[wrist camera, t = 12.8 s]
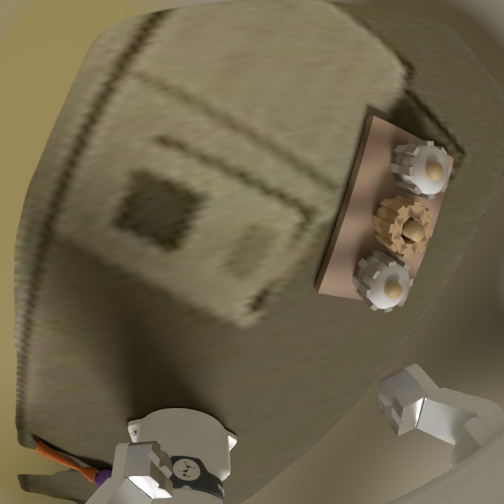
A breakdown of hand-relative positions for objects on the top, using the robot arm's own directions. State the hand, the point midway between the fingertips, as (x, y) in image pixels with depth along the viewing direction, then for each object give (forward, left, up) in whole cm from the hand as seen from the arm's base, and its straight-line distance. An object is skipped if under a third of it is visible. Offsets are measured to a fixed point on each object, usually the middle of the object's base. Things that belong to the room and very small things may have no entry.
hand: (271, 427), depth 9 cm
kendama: (-56, +20, -27) cm, 66 cm away
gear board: (+6, -20, -26) cm, 33 cm away
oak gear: (+6, -20, -25) cm, 32 cm away
